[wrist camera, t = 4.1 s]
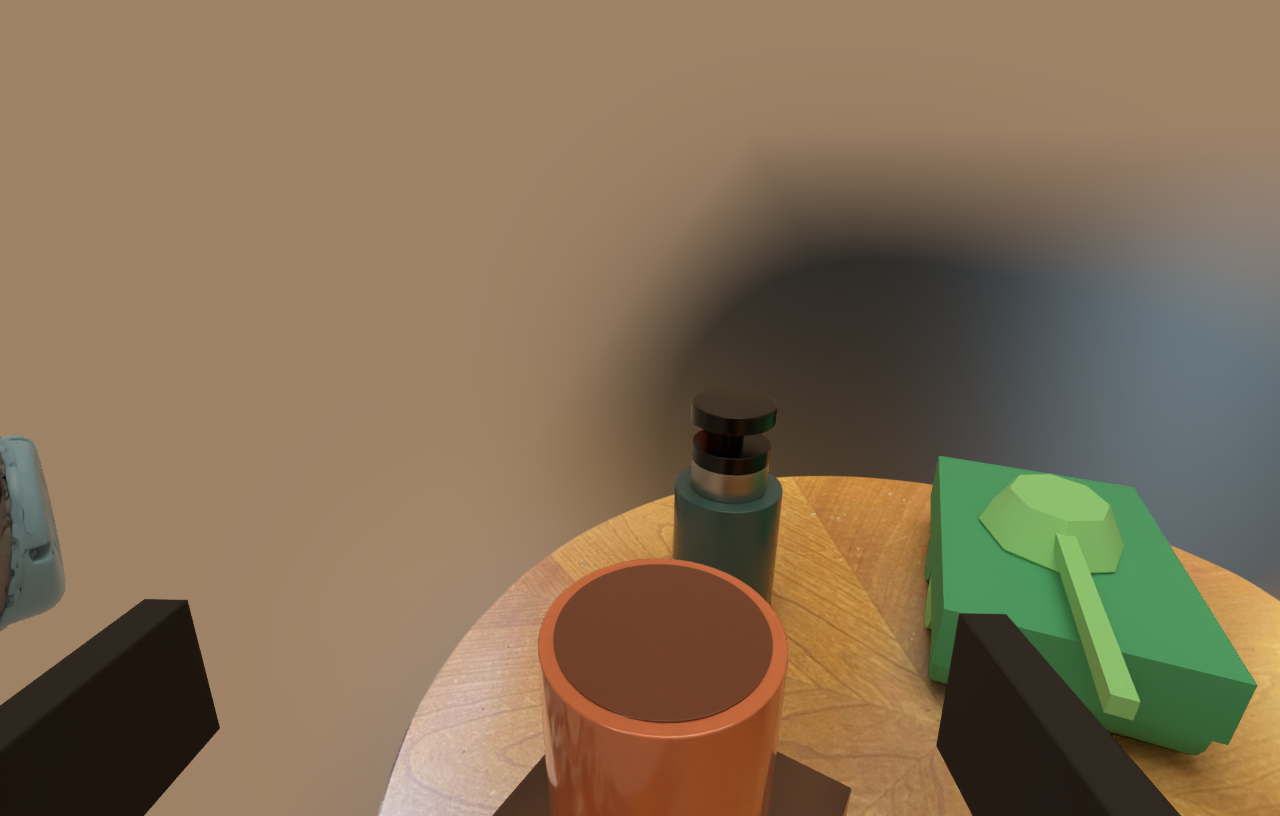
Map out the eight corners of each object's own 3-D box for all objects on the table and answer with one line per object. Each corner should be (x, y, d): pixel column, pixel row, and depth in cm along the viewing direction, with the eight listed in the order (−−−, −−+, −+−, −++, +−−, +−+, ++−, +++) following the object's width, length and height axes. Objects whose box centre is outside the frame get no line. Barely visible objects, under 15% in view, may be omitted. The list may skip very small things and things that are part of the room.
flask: (788, 628, 55) (815, 414, 47) (697, 654, 52) (709, 431, 44) (738, 569, 63) (753, 377, 55) (656, 589, 60) (660, 390, 52)
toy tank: (958, 639, 37) (945, 424, 67) (922, 784, 41) (925, 522, 71) (1357, 742, 30) (1145, 453, 60) (1263, 901, 35) (1109, 559, 65)
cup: (506, 868, 23) (483, 658, 19) (626, 713, 30) (626, 533, 26) (704, 1018, 19) (723, 791, 15) (793, 801, 26) (821, 604, 22)
